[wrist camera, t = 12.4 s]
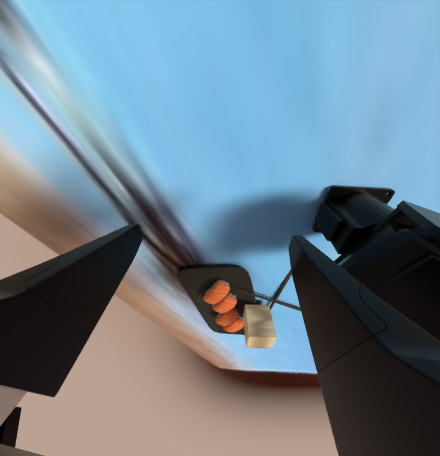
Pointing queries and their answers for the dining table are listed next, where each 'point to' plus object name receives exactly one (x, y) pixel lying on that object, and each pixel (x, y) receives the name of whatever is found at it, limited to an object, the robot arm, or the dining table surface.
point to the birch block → (258, 326)
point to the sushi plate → (223, 295)
